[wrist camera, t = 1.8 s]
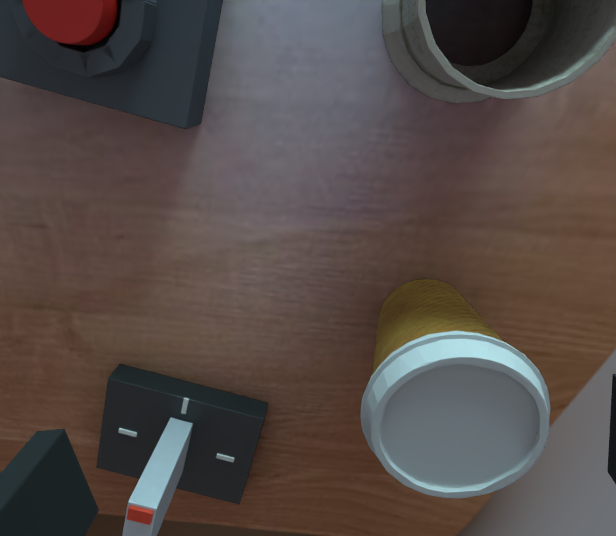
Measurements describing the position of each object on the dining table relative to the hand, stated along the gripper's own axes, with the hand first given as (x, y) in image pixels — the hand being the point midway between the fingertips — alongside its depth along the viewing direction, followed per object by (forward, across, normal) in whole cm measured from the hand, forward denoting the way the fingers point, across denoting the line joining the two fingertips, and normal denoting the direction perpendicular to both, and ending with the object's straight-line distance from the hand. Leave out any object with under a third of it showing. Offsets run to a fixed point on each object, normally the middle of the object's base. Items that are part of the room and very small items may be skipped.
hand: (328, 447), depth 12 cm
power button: (+18, -11, +14) cm, 25 cm away
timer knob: (+21, -15, -16) cm, 30 cm away
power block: (+22, -11, +14) cm, 29 cm away
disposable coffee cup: (+23, +5, -9) cm, 25 cm away
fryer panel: (+23, -15, -16) cm, 32 cm away
